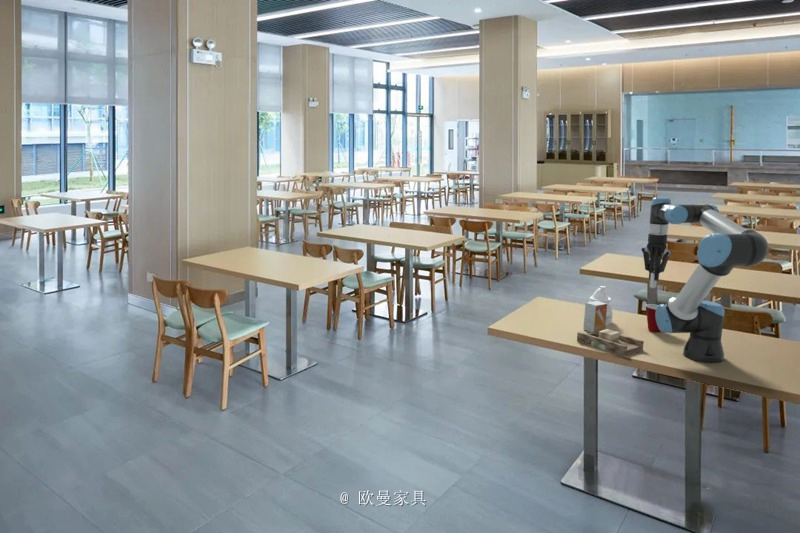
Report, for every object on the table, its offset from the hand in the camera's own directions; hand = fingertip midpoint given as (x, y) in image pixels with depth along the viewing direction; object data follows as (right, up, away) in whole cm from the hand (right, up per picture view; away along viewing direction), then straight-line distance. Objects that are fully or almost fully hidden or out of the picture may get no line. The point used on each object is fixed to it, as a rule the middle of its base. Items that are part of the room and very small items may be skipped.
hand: (652, 287), depth 277 cm
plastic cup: (+9, -21, +21) cm, 31 cm away
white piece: (-13, -18, +35) cm, 41 cm away
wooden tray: (-20, -25, -2) cm, 32 cm away
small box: (-19, -21, +20) cm, 35 cm away
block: (-20, -23, -2) cm, 30 cm away
